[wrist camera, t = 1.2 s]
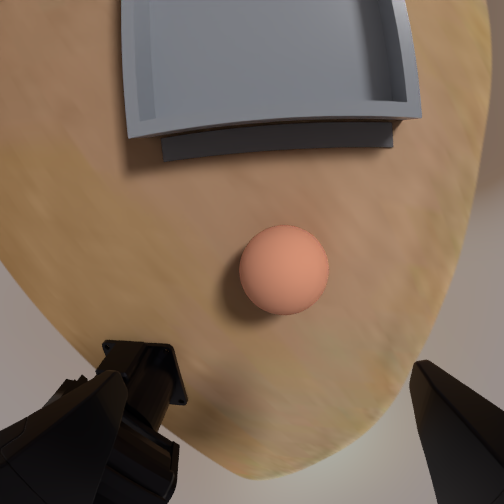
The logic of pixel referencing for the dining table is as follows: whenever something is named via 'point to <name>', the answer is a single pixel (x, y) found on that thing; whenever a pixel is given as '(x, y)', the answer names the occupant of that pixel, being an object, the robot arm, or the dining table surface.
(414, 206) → the dining table surface
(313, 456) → the dining table surface
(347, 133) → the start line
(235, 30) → the tray
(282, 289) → the ball
